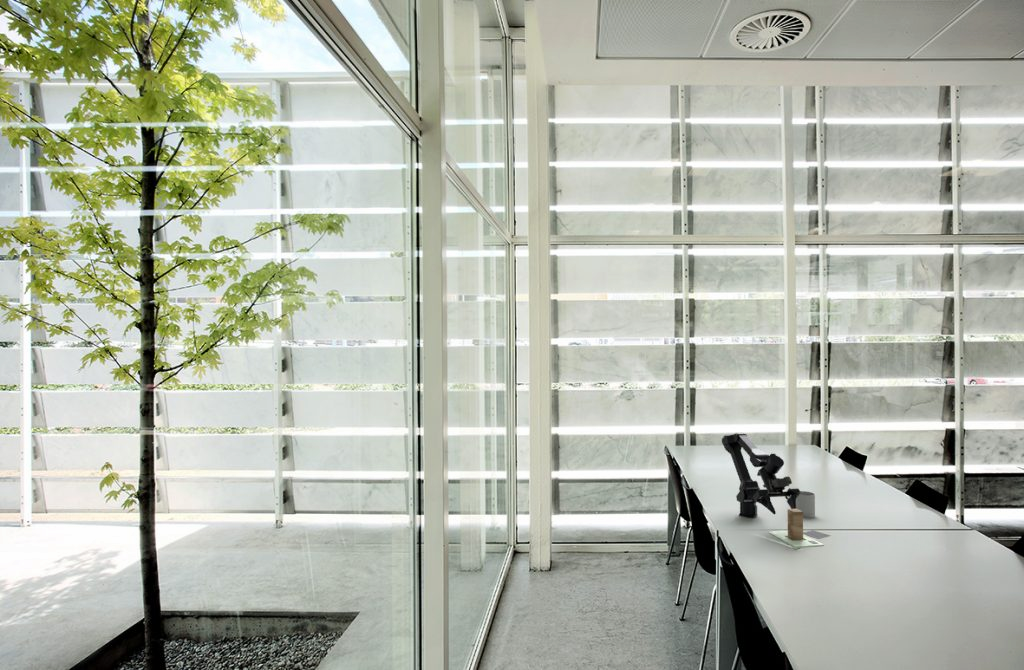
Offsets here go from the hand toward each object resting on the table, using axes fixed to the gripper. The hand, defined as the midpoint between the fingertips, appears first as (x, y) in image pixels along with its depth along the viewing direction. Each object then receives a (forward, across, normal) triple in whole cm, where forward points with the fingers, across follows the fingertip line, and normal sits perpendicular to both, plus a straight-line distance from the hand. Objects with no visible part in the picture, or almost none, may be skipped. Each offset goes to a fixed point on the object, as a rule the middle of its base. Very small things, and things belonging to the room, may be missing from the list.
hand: (785, 513), depth 248 cm
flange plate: (+11, 0, +1) cm, 11 cm away
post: (+11, 0, +1) cm, 11 cm away
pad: (+8, +12, +4) cm, 15 cm away
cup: (-10, +25, +24) cm, 36 cm away
